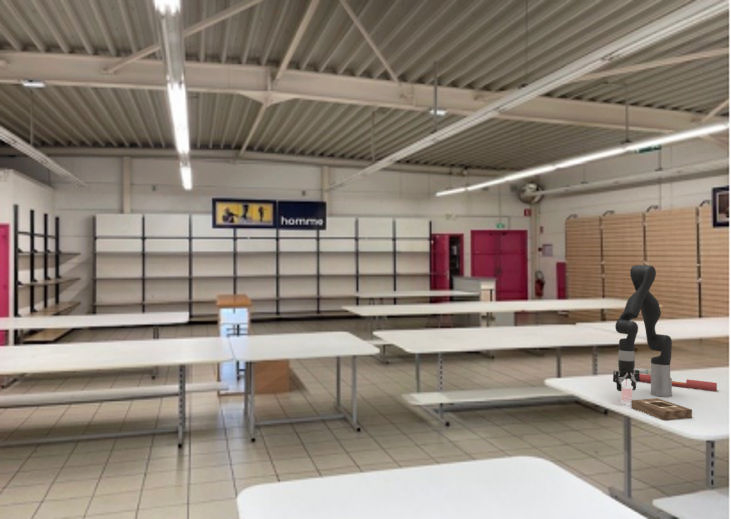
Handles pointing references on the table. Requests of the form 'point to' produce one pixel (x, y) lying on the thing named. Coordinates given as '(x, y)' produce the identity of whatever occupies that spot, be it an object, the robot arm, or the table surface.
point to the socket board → (661, 409)
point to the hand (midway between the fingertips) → (626, 390)
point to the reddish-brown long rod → (688, 384)
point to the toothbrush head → (644, 371)
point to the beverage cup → (626, 393)
